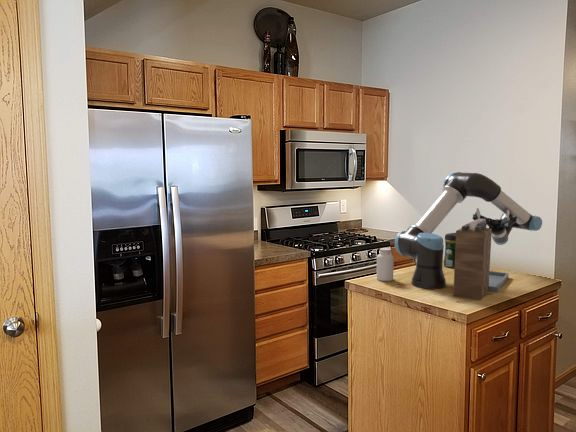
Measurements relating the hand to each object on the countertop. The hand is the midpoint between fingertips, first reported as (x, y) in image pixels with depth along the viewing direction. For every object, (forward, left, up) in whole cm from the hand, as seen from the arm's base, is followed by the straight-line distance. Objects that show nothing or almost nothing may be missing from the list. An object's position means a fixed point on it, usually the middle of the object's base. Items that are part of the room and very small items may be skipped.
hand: (492, 211), depth 222 cm
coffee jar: (-15, +20, -33) cm, 41 cm away
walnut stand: (-13, -33, -33) cm, 48 cm away
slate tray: (-4, -10, -33) cm, 34 cm away
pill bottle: (-50, -17, -33) cm, 62 cm away
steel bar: (-11, -27, -5) cm, 29 cm away
